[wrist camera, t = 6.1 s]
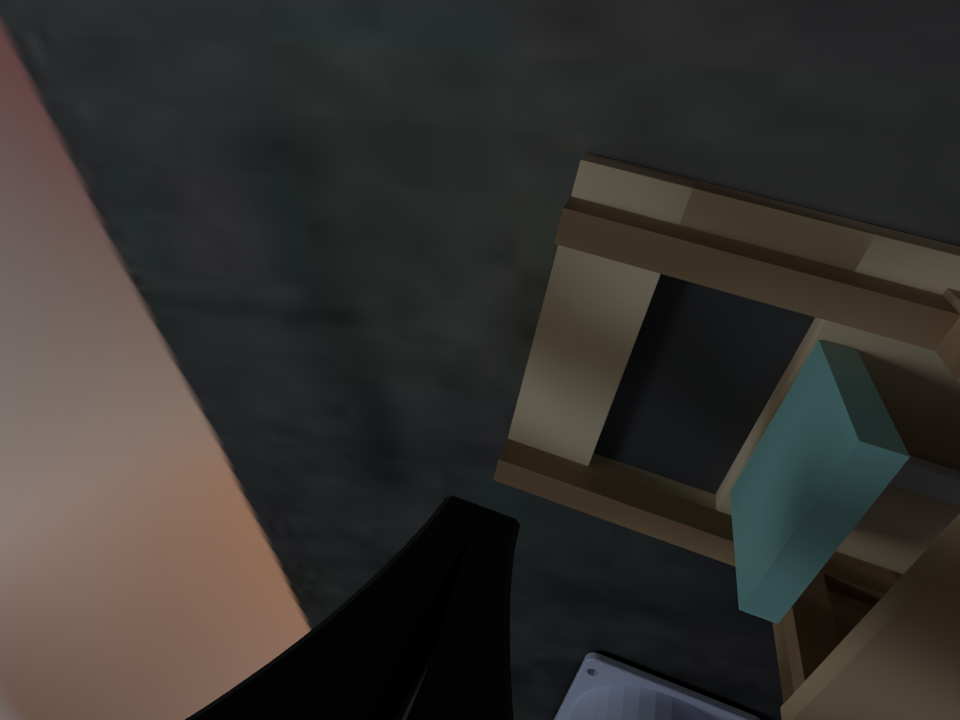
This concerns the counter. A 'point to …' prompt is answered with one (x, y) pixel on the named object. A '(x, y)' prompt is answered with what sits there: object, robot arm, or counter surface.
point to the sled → (818, 479)
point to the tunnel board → (752, 408)
